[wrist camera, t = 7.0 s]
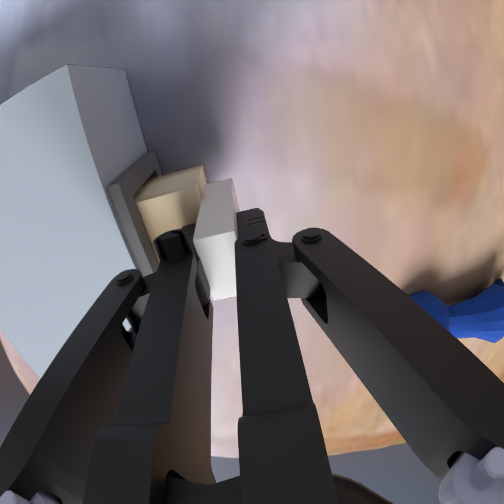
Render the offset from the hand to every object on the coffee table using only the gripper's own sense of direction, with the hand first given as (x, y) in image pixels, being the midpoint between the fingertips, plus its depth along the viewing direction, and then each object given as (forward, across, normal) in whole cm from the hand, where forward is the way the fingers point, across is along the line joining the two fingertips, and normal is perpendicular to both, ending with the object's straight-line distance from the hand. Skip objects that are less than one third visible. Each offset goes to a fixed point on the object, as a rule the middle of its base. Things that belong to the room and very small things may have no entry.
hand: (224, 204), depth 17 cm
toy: (+3, +19, -16) cm, 25 cm away
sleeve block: (+3, -10, 0) cm, 11 cm away
